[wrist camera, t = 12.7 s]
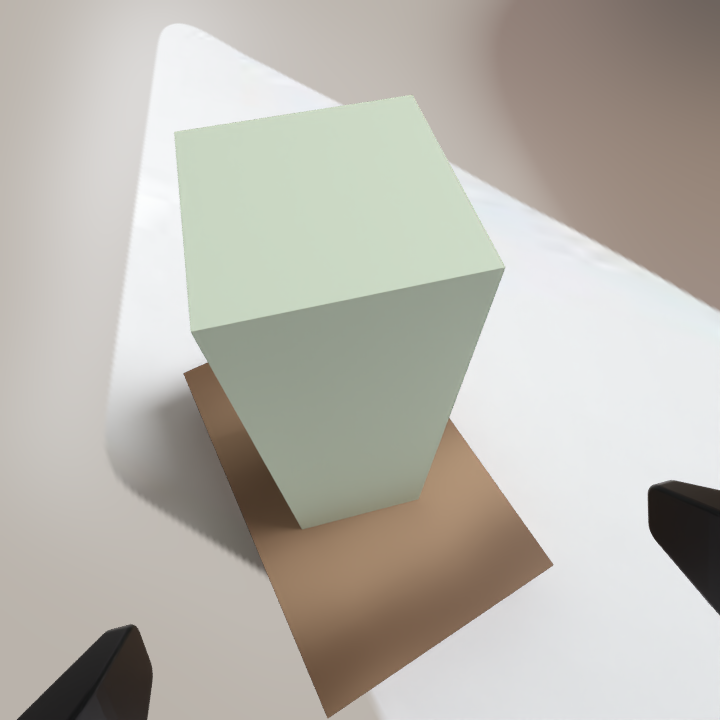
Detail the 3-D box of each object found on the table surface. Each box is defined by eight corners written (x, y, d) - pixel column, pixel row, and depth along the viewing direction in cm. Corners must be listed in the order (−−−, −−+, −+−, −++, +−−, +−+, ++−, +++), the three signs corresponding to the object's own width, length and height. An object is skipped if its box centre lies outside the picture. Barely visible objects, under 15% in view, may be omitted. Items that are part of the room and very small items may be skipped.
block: (418, 499, 18) (505, 267, 7) (302, 529, 18) (190, 331, 6) (386, 396, 20) (412, 94, 9) (282, 420, 20) (174, 132, 9)
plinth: (528, 575, 19) (553, 564, 17) (333, 706, 17) (327, 718, 15) (361, 329, 26) (361, 293, 23) (203, 402, 24) (183, 373, 21)
